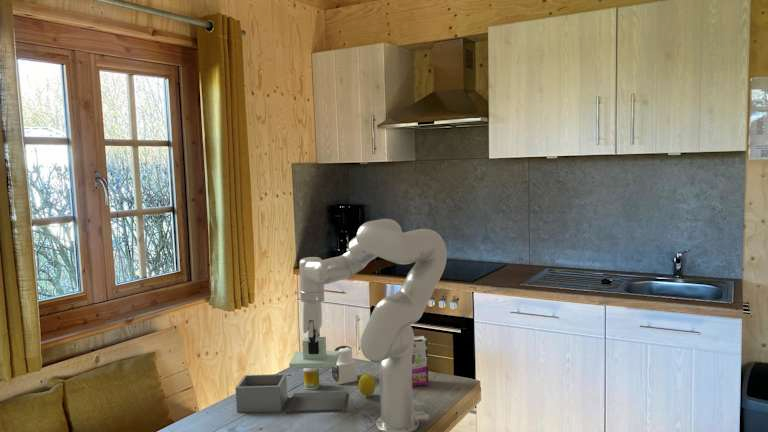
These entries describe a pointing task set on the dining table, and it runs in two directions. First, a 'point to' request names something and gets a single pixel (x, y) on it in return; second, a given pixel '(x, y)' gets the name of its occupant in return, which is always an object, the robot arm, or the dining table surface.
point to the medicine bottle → (345, 366)
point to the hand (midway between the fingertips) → (314, 350)
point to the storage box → (261, 393)
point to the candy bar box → (419, 362)
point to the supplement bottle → (311, 378)
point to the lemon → (366, 384)
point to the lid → (314, 356)
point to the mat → (317, 402)
